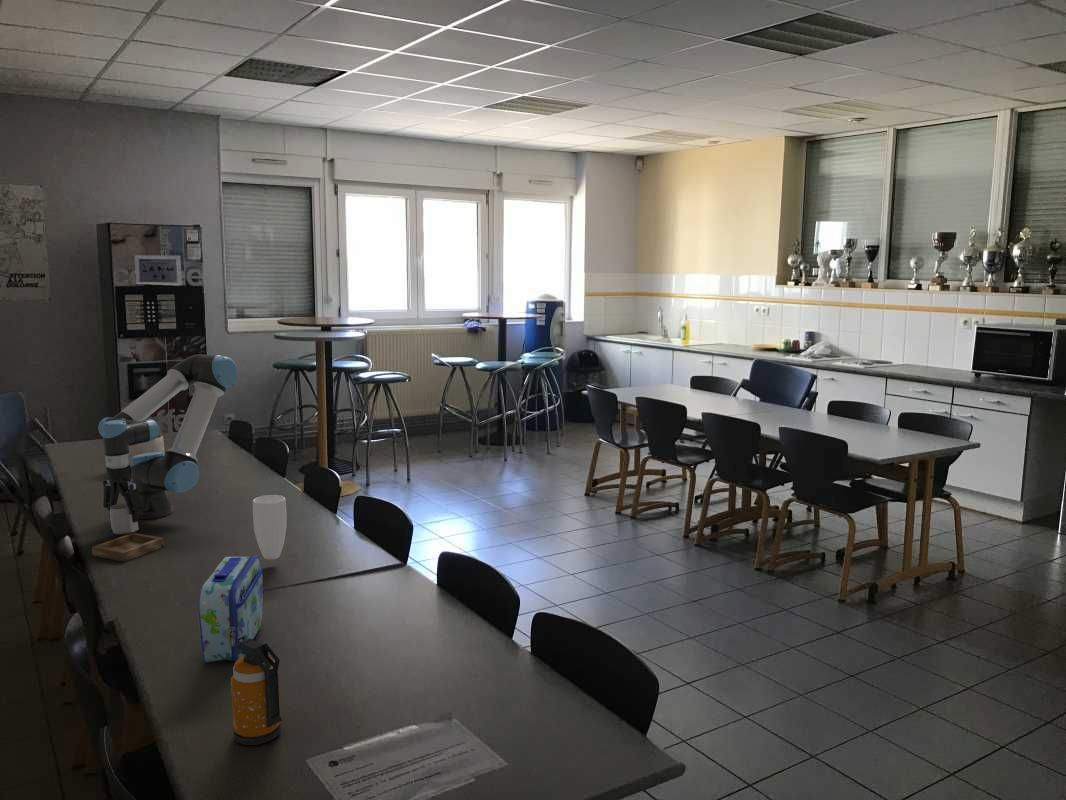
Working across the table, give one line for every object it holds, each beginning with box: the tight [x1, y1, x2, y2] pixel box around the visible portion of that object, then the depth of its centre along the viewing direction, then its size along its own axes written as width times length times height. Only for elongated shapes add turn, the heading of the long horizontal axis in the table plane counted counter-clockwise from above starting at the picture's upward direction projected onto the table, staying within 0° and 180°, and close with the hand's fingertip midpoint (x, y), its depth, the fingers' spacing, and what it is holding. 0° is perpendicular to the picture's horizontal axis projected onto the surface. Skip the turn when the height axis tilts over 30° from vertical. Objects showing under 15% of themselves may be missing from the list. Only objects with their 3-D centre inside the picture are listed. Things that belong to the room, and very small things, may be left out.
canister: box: [230, 638, 283, 746], centre depth 168 cm, size 9×11×20 cm
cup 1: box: [110, 502, 134, 535], centre depth 293 cm, size 7×10×9 cm
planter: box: [129, 432, 166, 465], centre depth 384 cm, size 18×18×16 cm
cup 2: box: [252, 494, 288, 560], centre depth 263 cm, size 10×10×22 cm
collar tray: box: [91, 532, 165, 563], centre depth 277 cm, size 16×14×3 cm
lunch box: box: [198, 554, 264, 663], centre depth 208 cm, size 26×11×21 cm, turn 5°
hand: (125, 529), depth 294 cm, fingers closed on cup 1, 8 cm apart
